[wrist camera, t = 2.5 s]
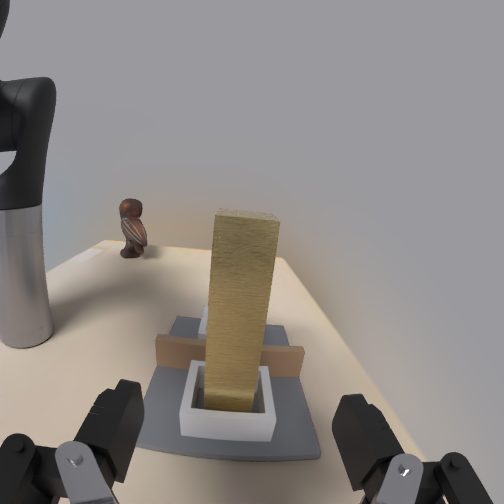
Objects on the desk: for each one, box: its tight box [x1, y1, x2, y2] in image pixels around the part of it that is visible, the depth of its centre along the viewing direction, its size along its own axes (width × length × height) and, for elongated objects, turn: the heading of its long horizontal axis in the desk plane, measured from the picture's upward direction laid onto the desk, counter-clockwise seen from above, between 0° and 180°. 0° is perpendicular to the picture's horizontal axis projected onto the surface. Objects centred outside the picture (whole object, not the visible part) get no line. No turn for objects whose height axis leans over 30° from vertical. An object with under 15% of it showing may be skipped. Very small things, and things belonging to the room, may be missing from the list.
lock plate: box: [135, 306, 321, 461], centre depth 30 cm, size 24×16×4 cm, turn 3°
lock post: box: [204, 209, 280, 413], centre depth 21 cm, size 4×4×18 cm
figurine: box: [119, 199, 147, 258], centre depth 68 cm, size 13×6×15 cm, turn 46°
